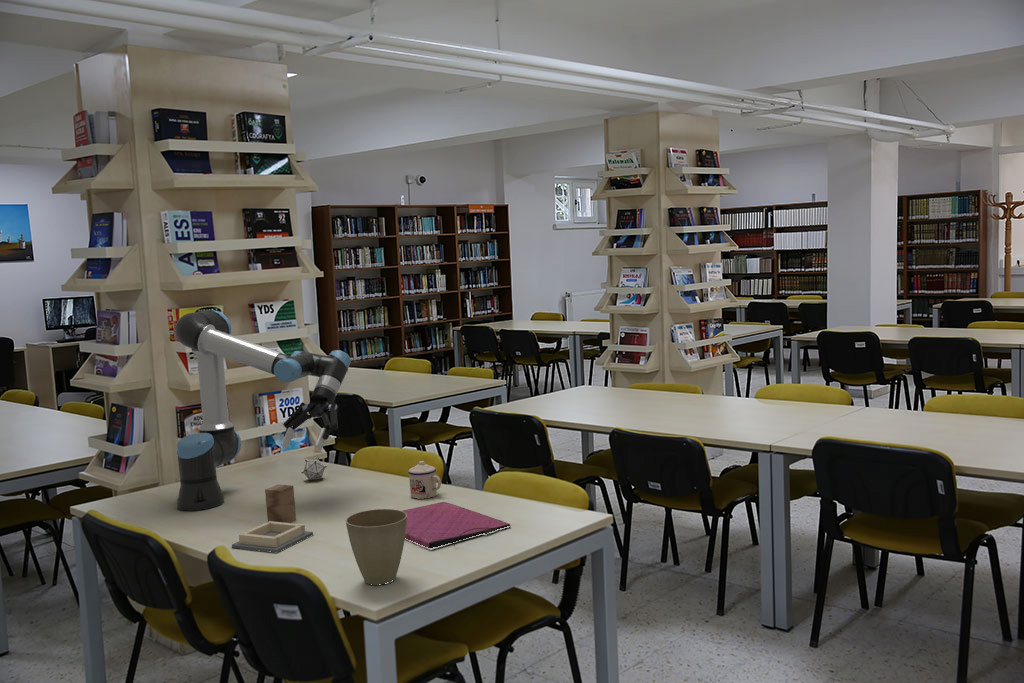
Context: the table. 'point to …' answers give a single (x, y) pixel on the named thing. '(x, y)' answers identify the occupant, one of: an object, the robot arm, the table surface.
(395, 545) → the plant pot
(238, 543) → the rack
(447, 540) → the laptop bag
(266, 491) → the walnut block
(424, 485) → the teacup with lid
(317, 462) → the game die
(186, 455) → the robot arm
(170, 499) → the table surface
